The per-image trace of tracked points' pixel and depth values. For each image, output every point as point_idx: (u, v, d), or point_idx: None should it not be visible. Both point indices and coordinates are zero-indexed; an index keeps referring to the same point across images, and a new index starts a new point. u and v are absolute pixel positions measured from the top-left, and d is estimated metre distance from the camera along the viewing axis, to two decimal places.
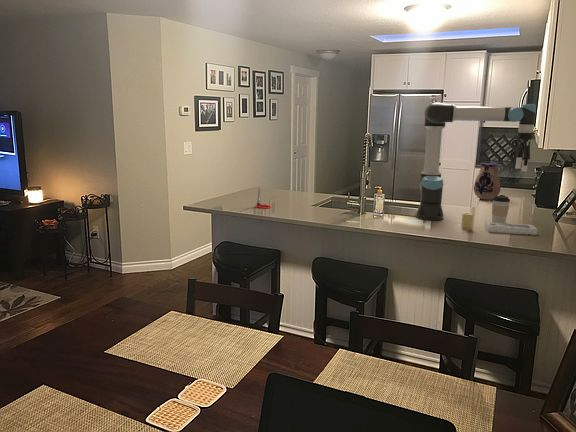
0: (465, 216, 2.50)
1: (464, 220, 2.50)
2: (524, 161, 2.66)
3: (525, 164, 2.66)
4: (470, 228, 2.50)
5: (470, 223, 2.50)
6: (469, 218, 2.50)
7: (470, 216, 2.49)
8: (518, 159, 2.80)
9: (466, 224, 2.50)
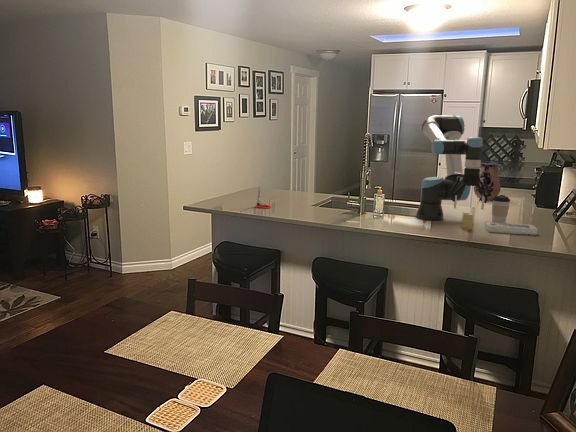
0: (465, 216, 2.50)
1: (464, 220, 2.50)
2: None
3: None
4: (470, 228, 2.50)
5: (470, 223, 2.50)
6: (469, 218, 2.49)
7: (470, 216, 2.49)
8: (482, 198, 2.48)
9: (466, 224, 2.50)
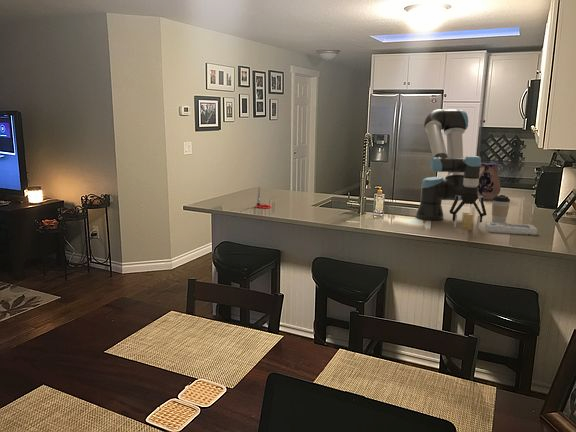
0: (465, 216, 2.50)
1: (464, 220, 2.50)
2: None
3: (452, 219, 2.54)
4: (470, 228, 2.50)
5: (470, 223, 2.50)
6: (469, 218, 2.49)
7: (470, 216, 2.49)
8: None
9: (466, 224, 2.50)
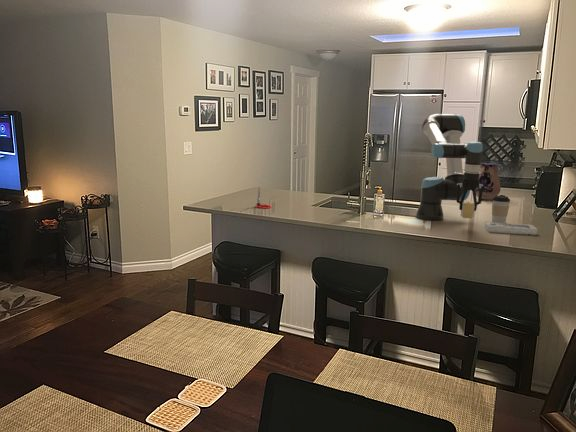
0: (466, 205, 2.49)
1: (465, 209, 2.49)
2: None
3: (459, 208, 2.52)
4: (471, 217, 2.50)
5: (471, 212, 2.49)
6: (470, 207, 2.49)
7: (471, 205, 2.48)
8: None
9: (467, 213, 2.50)
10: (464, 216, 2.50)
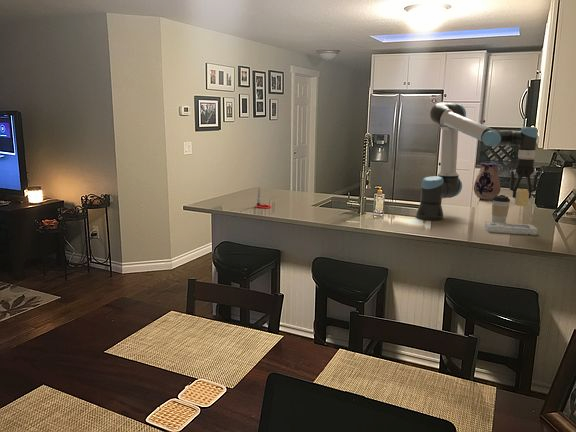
0: (520, 192, 2.41)
1: (519, 196, 2.42)
2: None
3: (513, 196, 2.45)
4: (525, 204, 2.42)
5: (525, 199, 2.42)
6: (524, 194, 2.41)
7: (525, 192, 2.41)
8: None
9: (521, 200, 2.42)
10: (518, 204, 2.43)
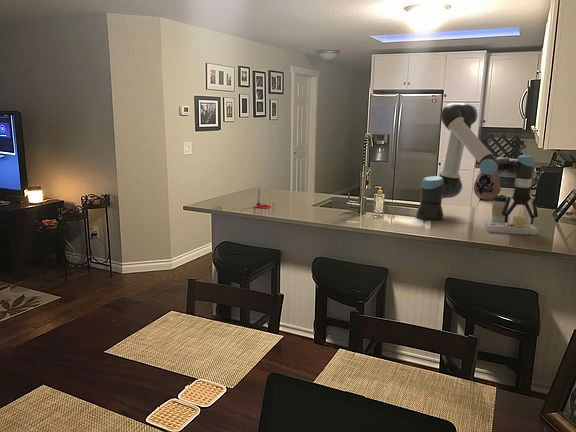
0: (517, 219, 2.44)
1: (516, 223, 2.45)
2: None
3: (504, 221, 2.48)
4: None
5: (522, 226, 2.45)
6: (521, 221, 2.44)
7: (522, 219, 2.44)
8: (528, 219, 2.46)
9: None
10: None
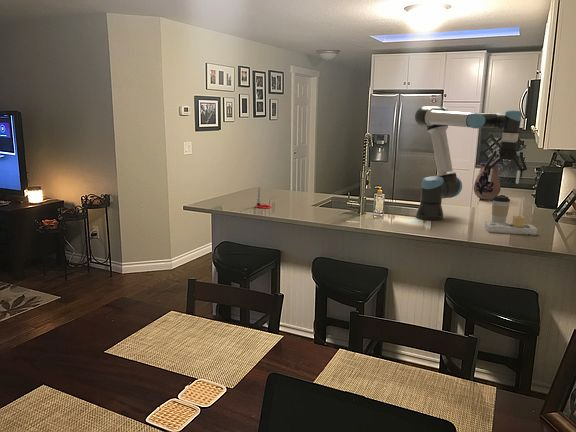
0: (517, 219, 2.44)
1: (516, 223, 2.45)
2: None
3: (487, 173, 2.52)
4: None
5: (522, 226, 2.45)
6: (521, 221, 2.44)
7: (522, 219, 2.44)
8: (517, 172, 2.49)
9: None
10: None
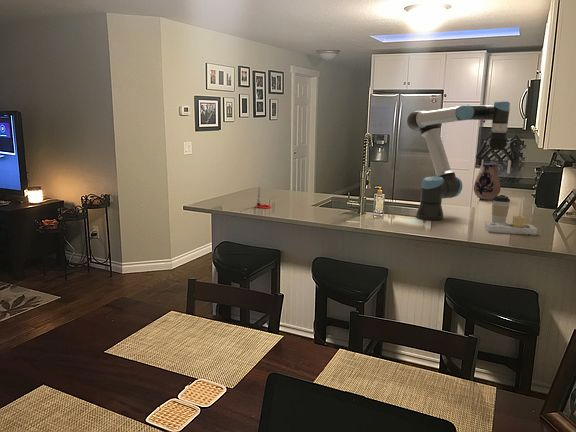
0: (517, 219, 2.44)
1: (516, 223, 2.45)
2: None
3: (478, 164, 2.55)
4: None
5: (522, 226, 2.45)
6: (521, 221, 2.44)
7: (522, 219, 2.44)
8: (508, 162, 2.52)
9: None
10: None
